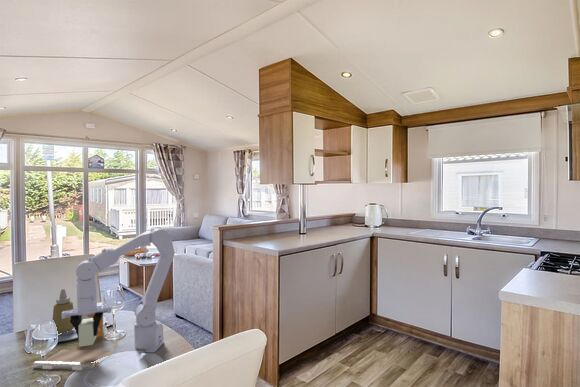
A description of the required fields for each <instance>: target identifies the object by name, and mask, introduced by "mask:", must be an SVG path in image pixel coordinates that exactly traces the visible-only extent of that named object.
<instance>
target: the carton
mask: <svg viewBox="0 0 580 387" xmlns="http://www.w3.org/2000/svg"><path fill="white" fill-rule="evenodd" d="M78 328H79V338H78V347H79V348H80V347H86V346H93V345H94V343H95V340H96V339H97V338H96V336H94V322H93V318H88V319H83V320H82V321H81V323H80V324H79V326H78Z"/></svg>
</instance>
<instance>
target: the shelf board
mask: <svg viewBox="0 0 580 387" xmlns="http://www.w3.org/2000/svg"><path fill="white" fill-rule="evenodd" d="M114 353H116V350H100V349H98V350H97V349H93V350H92V349H66V348H65V349H61V350H60V351H58V352H56V353H55V354H53V355H51V356H50V357H48V358H47V359H45V360H36V361H34V362H33V369H42V370H53V369H54V370H57V369H58V370H72V371H82V370H84V371H93V370H94V369H96V368H97V367H98V366H99V365H101V364H102V363H103V362H102V361H101V362H100V363H99V362H97V363H96V362H95V363H91V362H94V361H96V360H98V359H101V358H103V357H106V356H109V357H110V356H112V355H113V354H114Z"/></svg>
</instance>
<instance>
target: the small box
mask: <svg viewBox="0 0 580 387" xmlns="http://www.w3.org/2000/svg"><path fill="white" fill-rule="evenodd" d="M97 306H104V301H101V302H97ZM94 315H95V314H92V315H84V316H82V320H83V319H88V318H93V316H94ZM102 337H104V314H103V315H102V318H101V320H100V323H99V326H98V332H97V335H96V339H97V338H102Z"/></svg>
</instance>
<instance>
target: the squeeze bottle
mask: <svg viewBox="0 0 580 387" xmlns="http://www.w3.org/2000/svg"><path fill="white" fill-rule="evenodd" d="M59 294H60V295H59V297H58V298H57V297H56V300H55V302H56V303H55V304H54V305H53V310H52V320H54V322H55V324H56V327H57V331H58V334H60V333H63V334H65V333H64V332H66V333H68V332H67V331H69V332H71V331H70V330H72V329H73V330H74V329H75V328H74V327H73V325H72V324H71V323H70V320H71V317H68V318H65V319H62V315H61V313H62V312H63V311H68V310H73V309H74V304H73V303H74V302H72V301H71V296H68V295H67V293H66V289H65V288H62V289H61V290H60V293H59ZM52 320H51V321H52Z"/></svg>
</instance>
